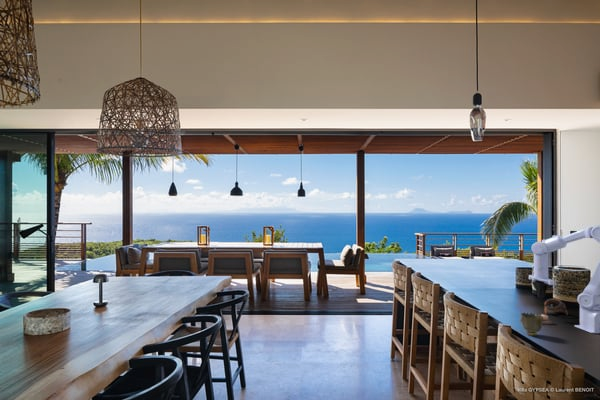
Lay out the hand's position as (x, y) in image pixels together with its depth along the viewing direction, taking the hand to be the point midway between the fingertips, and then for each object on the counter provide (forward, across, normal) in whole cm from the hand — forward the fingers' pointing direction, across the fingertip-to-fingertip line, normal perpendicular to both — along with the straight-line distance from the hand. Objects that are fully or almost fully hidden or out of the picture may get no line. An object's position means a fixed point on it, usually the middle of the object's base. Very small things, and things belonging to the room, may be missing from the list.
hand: (541, 297), depth 174 cm
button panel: (+9, +6, -7) cm, 13 cm away
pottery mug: (+10, -8, +13) cm, 18 cm away
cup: (+10, +23, -20) cm, 32 cm away
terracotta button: (+8, +6, -3) cm, 11 cm away
